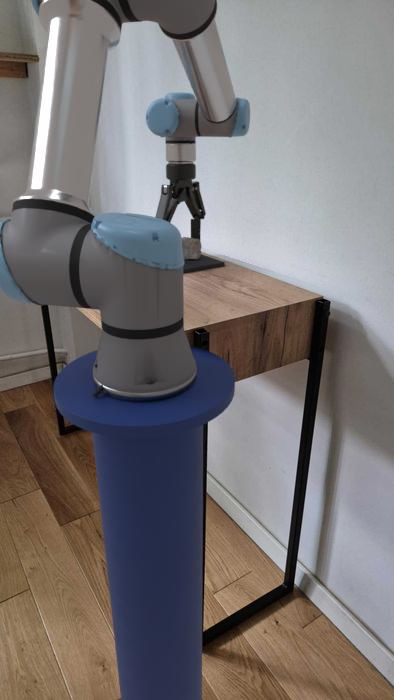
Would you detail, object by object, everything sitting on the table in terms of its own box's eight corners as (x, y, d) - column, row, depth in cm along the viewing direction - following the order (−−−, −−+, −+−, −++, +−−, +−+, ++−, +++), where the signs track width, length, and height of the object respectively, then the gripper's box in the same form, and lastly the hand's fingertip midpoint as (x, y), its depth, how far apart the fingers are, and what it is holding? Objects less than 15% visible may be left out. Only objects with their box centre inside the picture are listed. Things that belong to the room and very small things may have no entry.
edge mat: (224, 266, 127) (224, 262, 127) (179, 273, 120) (179, 269, 120) (184, 251, 143) (184, 248, 142) (142, 257, 136) (142, 254, 135)
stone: (205, 255, 134) (205, 234, 131) (196, 262, 127) (196, 240, 124) (172, 253, 136) (172, 232, 134) (161, 259, 129) (161, 237, 127)
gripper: (195, 160, 132) (195, 238, 141) (137, 164, 113) (141, 254, 122) (219, 161, 129) (217, 241, 137) (163, 165, 110) (165, 258, 118)
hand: (181, 247), depth 130 cm, fingers open, 13 cm apart
